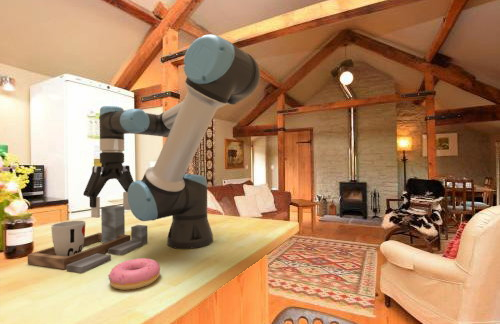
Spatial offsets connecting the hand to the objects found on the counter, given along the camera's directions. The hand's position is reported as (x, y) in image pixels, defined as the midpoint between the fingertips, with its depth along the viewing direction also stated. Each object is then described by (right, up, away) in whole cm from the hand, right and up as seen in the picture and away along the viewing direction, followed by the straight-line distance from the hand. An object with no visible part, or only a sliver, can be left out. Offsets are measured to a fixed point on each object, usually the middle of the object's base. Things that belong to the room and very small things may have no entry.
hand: (112, 213), depth 92 cm
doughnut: (+21, -10, -31) cm, 39 cm away
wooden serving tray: (-3, -10, -11) cm, 15 cm away
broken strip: (+7, -10, -13) cm, 18 cm away
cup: (-4, -10, -16) cm, 19 cm away
